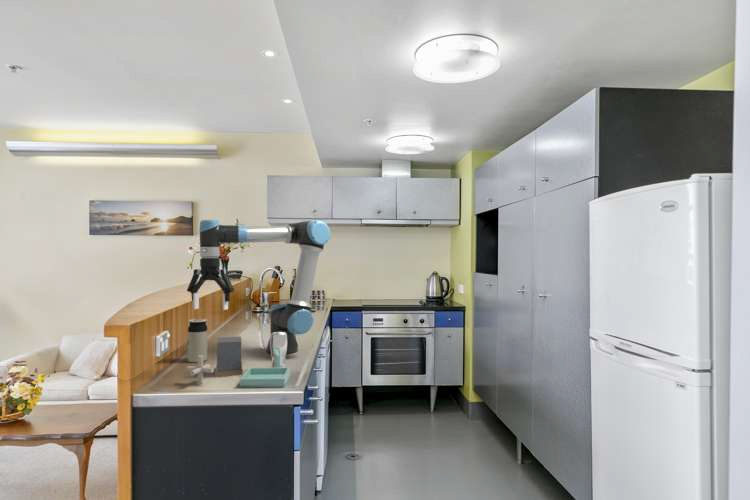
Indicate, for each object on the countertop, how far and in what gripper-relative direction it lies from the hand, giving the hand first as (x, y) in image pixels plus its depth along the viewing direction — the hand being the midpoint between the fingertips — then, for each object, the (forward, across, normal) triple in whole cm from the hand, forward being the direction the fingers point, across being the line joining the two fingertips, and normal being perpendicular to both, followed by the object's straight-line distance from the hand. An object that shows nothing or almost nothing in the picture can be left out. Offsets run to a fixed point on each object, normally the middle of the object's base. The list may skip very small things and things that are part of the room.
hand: (210, 309), depth 180 cm
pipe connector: (+25, +8, -18) cm, 32 cm away
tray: (+25, +30, -10) cm, 40 cm away
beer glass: (+25, +27, +6) cm, 37 cm away
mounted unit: (+25, +9, -2) cm, 26 cm away
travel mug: (+25, -15, +11) cm, 31 cm away
